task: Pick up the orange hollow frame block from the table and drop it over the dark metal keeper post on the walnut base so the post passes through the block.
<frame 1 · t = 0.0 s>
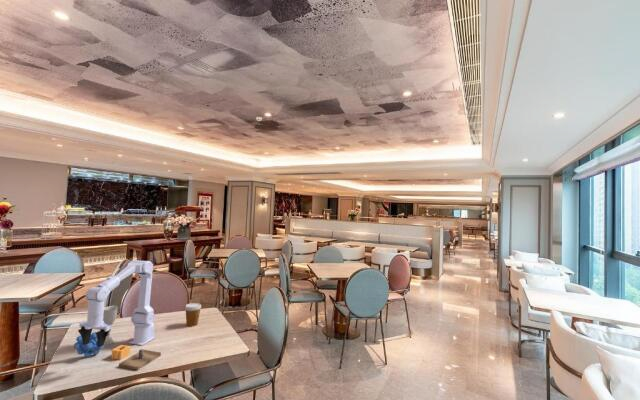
hand: (93, 345, 132), 10 cm above the table, tool pointing down, fingers open, 7 cm apart
chalice: (107, 342, 156), on the table
keeper base: (140, 361, 139), on the table
disposable coffee cup: (192, 324, 184), on the table
grapes: (88, 358, 140), on the table
orange hollow frame block: (120, 356, 143), on the table
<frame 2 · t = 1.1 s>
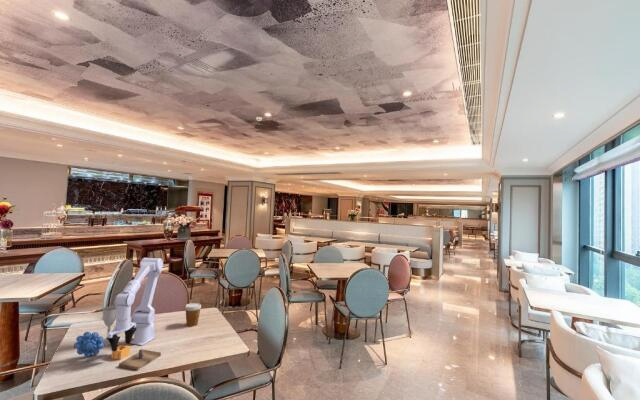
hand: (121, 347, 143), 4 cm above the table, tool pointing down, fingers open, 7 cm apart
nothing on the table moved.
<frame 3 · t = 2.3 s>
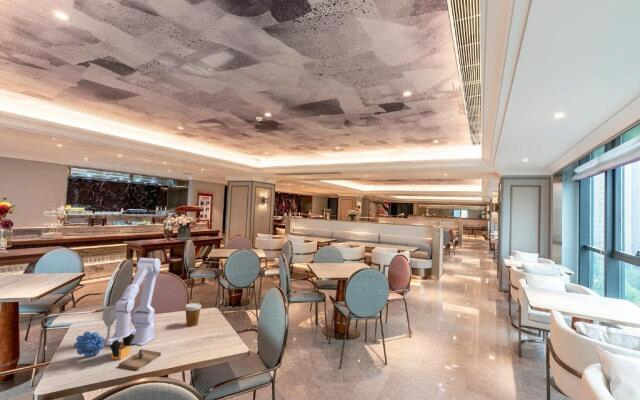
hand: (120, 353, 143), 1 cm above the table, tool pointing down, fingers closed on orange hollow frame block, 5 cm apart
orange hollow frame block: (120, 356, 143), on the table, touching gripper
everything else where it was.
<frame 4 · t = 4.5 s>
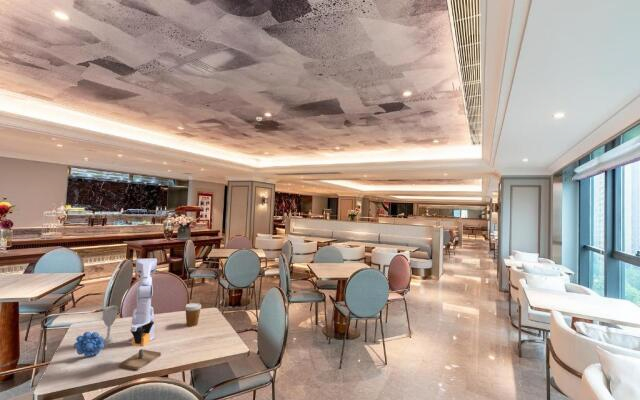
hand: (141, 340, 140), 9 cm above the table, tool pointing down, fingers closed on orange hollow frame block, 5 cm apart
orange hollow frame block: (141, 343, 140), point 8 cm above the table, touching gripper
everything else where it was.
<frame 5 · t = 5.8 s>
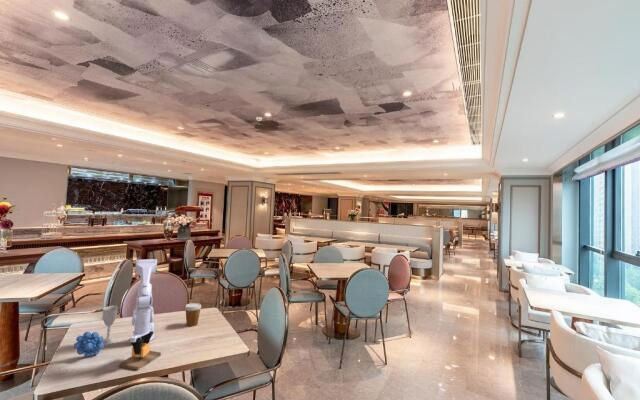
hand: (141, 351, 140), 5 cm above the table, tool pointing down, fingers closed on orange hollow frame block, 5 cm apart
orange hollow frame block: (140, 354, 140), point 3 cm above the table, touching gripper
everything else where it was.
when the fingers open (5 cm above the table, at t = 6.6 s): orange hollow frame block drops 2 cm, resting on keeper base.
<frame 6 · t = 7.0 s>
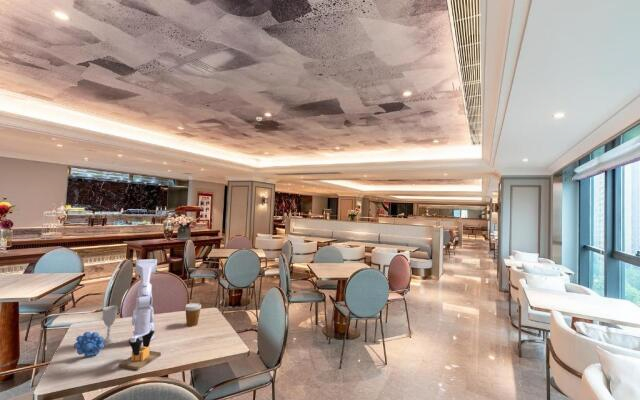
hand: (141, 351, 140), 5 cm above the table, tool pointing down, fingers open, 7 cm apart
orange hollow frame block: (140, 357, 139), point 1 cm above the table, touching keeper base
everything else where it was.
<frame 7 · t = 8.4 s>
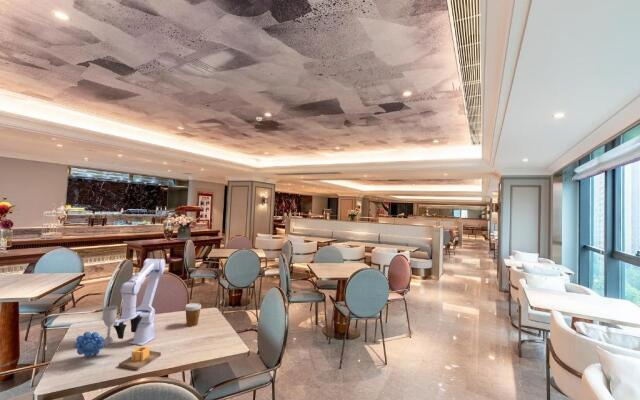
hand: (127, 335, 145), 9 cm above the table, tool pointing down, fingers open, 7 cm apart
nothing on the table moved.
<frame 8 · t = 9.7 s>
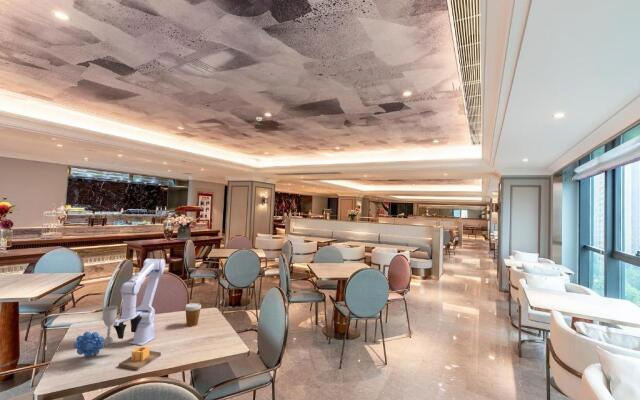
hand: (127, 335, 145), 9 cm above the table, tool pointing down, fingers open, 7 cm apart
nothing on the table moved.
at the end: orange hollow frame block 0.1 cm off-centre on the keeper base, point 1.5 cm above the keeper base's base; orange hollow frame block tilted 0°; the gripper is holding nothing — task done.
